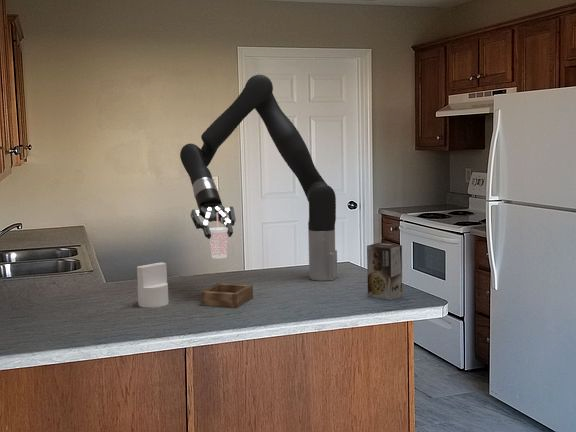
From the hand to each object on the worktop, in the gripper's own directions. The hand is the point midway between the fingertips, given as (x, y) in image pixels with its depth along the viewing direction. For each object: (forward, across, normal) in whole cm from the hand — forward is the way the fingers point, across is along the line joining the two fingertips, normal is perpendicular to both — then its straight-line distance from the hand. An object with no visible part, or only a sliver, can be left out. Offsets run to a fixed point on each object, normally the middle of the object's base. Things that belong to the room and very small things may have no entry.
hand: (220, 236), depth 202 cm
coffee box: (+30, +45, -1) cm, 54 cm away
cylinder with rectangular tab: (+10, -20, +18) cm, 29 cm away
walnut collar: (+16, 0, +12) cm, 20 cm away
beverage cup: (+4, 0, +6) cm, 7 cm away
